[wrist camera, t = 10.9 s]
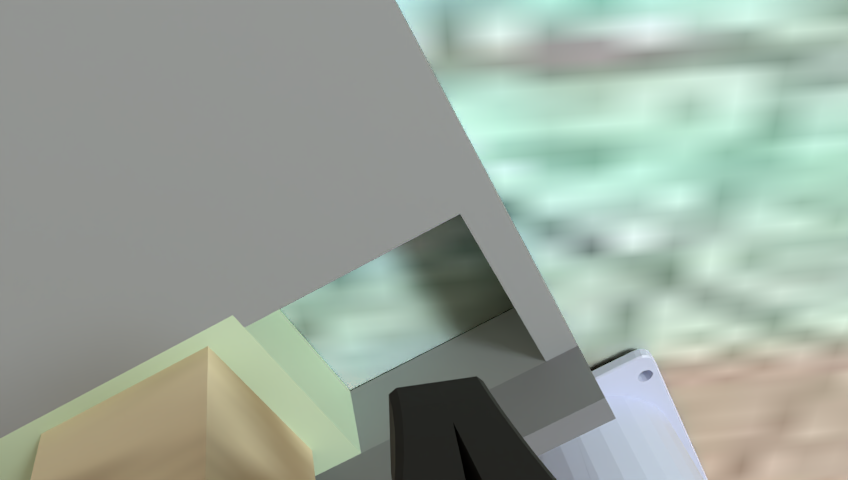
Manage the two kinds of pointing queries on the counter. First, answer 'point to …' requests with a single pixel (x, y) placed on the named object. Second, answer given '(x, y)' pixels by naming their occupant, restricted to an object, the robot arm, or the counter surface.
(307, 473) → the maple block
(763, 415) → the counter surface
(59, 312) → the grey shallow tray piece
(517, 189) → the counter surface
